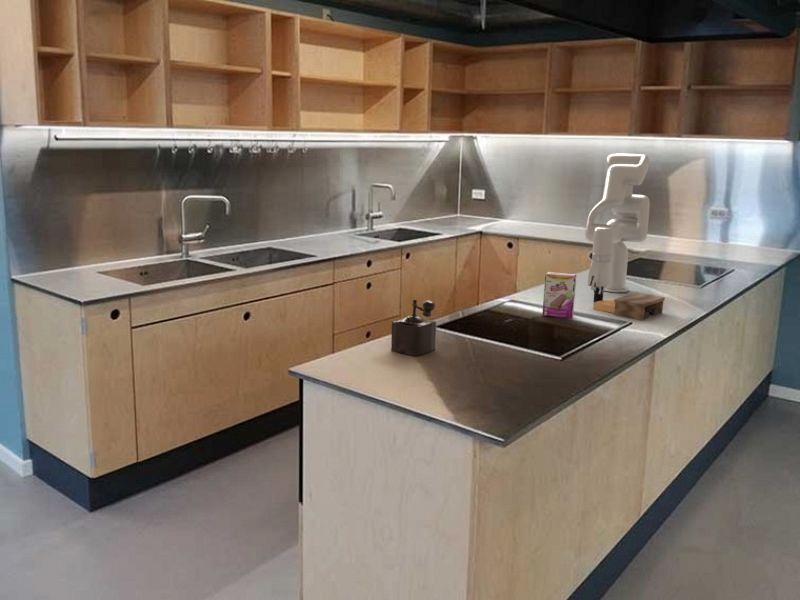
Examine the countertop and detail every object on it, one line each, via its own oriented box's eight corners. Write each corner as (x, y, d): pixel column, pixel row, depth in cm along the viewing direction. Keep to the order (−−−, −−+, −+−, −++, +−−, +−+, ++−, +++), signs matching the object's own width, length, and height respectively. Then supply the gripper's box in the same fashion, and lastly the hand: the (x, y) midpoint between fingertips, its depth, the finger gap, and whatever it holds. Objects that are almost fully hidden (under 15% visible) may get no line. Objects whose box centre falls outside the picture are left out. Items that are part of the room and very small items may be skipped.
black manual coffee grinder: (388, 351, 226) (389, 295, 222) (410, 343, 235) (411, 289, 230) (428, 361, 217) (429, 303, 213) (449, 353, 225) (451, 296, 221)
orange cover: (593, 308, 285) (593, 302, 284) (609, 304, 293) (609, 298, 293) (625, 315, 275) (626, 308, 275) (640, 310, 283) (641, 304, 283)
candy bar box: (542, 316, 272) (544, 273, 268) (543, 313, 277) (546, 271, 273) (572, 319, 268) (575, 276, 265) (573, 316, 273) (576, 273, 269)
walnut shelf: (613, 314, 276) (614, 299, 275) (635, 307, 288) (637, 292, 287) (641, 320, 268) (642, 304, 267) (663, 312, 280) (664, 297, 279)
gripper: (603, 254, 293) (599, 298, 298) (583, 258, 283) (579, 304, 287) (619, 257, 288) (615, 302, 292) (600, 261, 278) (596, 307, 282)
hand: (597, 302), depth 290 cm, fingers closed
